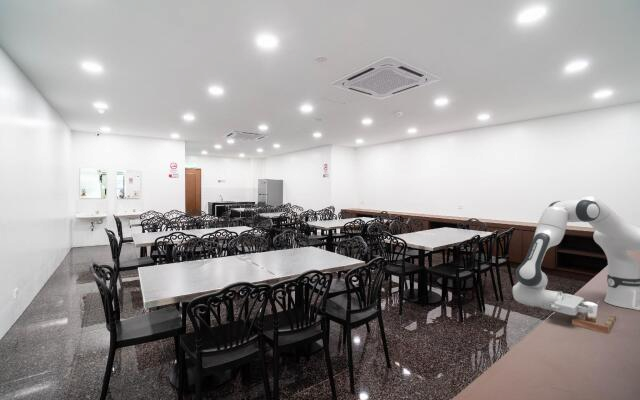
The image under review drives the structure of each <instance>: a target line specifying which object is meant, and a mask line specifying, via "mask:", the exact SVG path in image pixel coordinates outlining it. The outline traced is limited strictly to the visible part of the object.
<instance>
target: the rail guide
mask: <svg viewBox="0 0 640 400" xmlns="http://www.w3.org/2000/svg"><path fill="white" fill-rule="evenodd" d="M583 319H585V314H584V312H578V313H577V314H576V315H574V316H573V317H572V318H571V325H572V326H575V327H579V328H583V329H588V330H591V331H596V332H599V333H600V332H601V333H603V334H609V333H610V331H611V329H612V327H613V325H614V323H615V321H616V320H617V315H616V314H615V313H610V314H609V316H608V317H607V320H606V322H604V324H599V323H597V322H596V323H592V322H587V321H585V320H583Z"/></svg>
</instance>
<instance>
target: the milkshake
mask: <svg viewBox="0 0 640 400" xmlns="http://www.w3.org/2000/svg"><path fill="white" fill-rule="evenodd" d="M599 303H600V300H598V301H597V303H595V302H592V301H584V303H583V305H584V307H585V308H592V309H593V313H585V312H584V314H585V317H584V321H587V322H592V323H596V324H597V316H598V315H597V313H598V309H599V308H598V306H599Z"/></svg>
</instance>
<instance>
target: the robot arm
mask: <svg viewBox="0 0 640 400" xmlns="http://www.w3.org/2000/svg"><path fill="white" fill-rule="evenodd" d="M568 223H588V224H589V225H590V227H592V228H593V229H595V231H594V232H593V235H592V236H593V240H594V242H595V243H596V244H597V245H598V246H599V247H600V248H601V249H602V250H603V252H604V254H605V256H606V260H607V268H608V269H607V270H608V271H607V272H608V274H607V275H606V281H607V289H606V295H605V298H604V300H603V301H604V303H606V304H609V305H611V306H616V307H620V308H624V309H625V308H626V309H631V310H636V311H640V263H639V262H638V260H636V259H635V258H634V257H632V256H631V255H630V254H629V252H628V251H633V252H640V227H639V226H636V225H634V224H632V223H631V222H628V221H627V220H625V219H624V218H621V216H619V215H618V214H617V213H616V212H615V211H613V209H611V208H610V207H609V206H608V205H607V204H606V203H604V202H603V201H602V200H600V199H598V198H597V197H595V196H592V195H586V196H582V197H580V198H579V199H568V200H567V199H566V200H557V201H553V202H551V203H550V204H549V205H548V207H546V208H545V209H544V210H543V212H542V213H541V216H540V218H539V220H538V222H537V225H536V229H535V231H534V236H533V239H532V241H531V243H530V246H529V248H528V251H527V253H526V255H525V257H524V260H523V261H522V262H521V264H519V265H518V266H517V268H516V269H515V278H516V280H517V283H515V285H513V286H512V289H511V293H512V296H513V299H514V300H515V301H516V302H518V303H520V304H522V305H526V306H528V307H533V308H534V307H535V308H541V309H543V310H546V311H549V312H550V311H551V312H555V311H556V313H560V314H565V315H569V316H576V315H577V314H578V313H579V312H585V313H593V309H592V308H585V307H584V305H583V303H584V302H585V298H584V297H582V296H578V295H574V294H570V293H563V291H561V290H548V289H546V288H547V285H548V281H549V279H548V276H547V275H546V273H545V272H543V271H542V269H541V268H542V267H541V266H542V263H543V262H544V261H543V260H544V257H545V255H546V252H547V251H548V249H550V248H551V247H556V246H557V245H559V244H560V243H561V242H562V240H563V239H564V236H565V234H566V229H567V226H568Z"/></svg>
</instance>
